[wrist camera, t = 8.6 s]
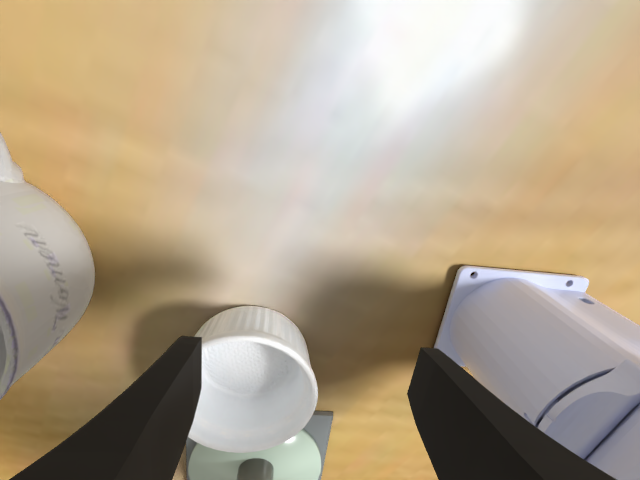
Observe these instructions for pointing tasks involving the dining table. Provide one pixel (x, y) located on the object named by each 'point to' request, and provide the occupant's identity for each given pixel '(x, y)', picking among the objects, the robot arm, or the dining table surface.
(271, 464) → the lid
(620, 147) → the dining table surface
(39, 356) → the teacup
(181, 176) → the dining table surface
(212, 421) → the ramekin
